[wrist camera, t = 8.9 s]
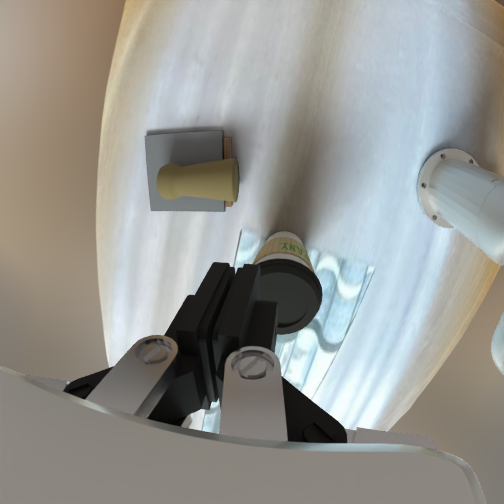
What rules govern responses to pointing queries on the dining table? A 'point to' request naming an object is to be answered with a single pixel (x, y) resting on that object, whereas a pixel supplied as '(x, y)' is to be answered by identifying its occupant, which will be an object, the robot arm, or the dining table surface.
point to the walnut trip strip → (227, 156)
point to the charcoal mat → (182, 153)
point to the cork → (200, 180)
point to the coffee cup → (289, 281)
